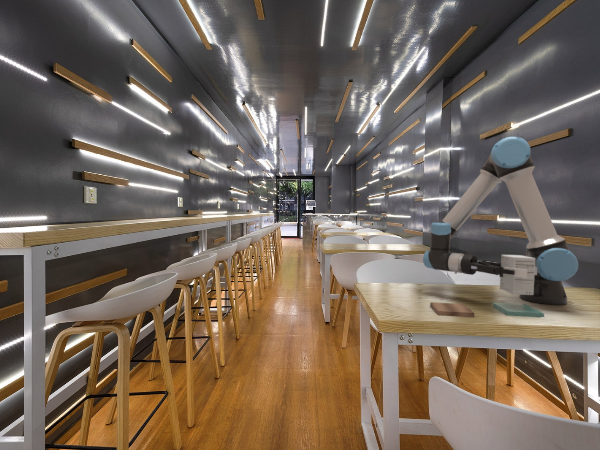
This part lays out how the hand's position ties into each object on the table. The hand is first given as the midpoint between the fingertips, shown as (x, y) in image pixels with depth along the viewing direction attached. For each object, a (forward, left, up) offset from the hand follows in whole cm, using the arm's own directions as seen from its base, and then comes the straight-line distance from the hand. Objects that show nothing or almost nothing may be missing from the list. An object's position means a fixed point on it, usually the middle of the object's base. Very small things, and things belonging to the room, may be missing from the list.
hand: (532, 272), depth 108 cm
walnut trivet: (+26, 0, -15) cm, 30 cm away
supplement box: (+3, -3, -8) cm, 9 cm away
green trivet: (+3, -3, -15) cm, 15 cm away
